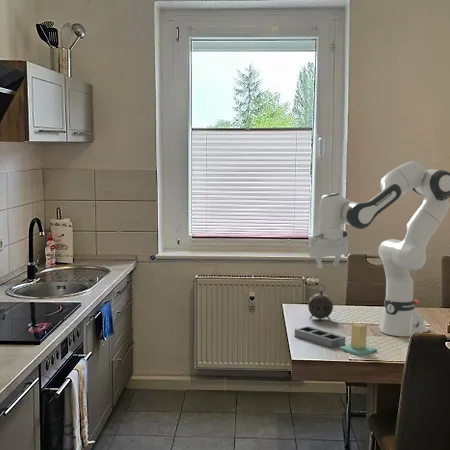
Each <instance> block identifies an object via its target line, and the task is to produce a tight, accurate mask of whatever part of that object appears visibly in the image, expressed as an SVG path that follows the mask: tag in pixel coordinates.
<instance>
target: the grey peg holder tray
mask: <svg viewBox="0 0 450 450" xmlns="http://www.w3.org/2000/svg"><path fill="white" fill-rule="evenodd" d="M295 337H296V338H298V339H301V340H304V341H308V342H310V343H315V344H317V345H321V346H324V347H326V348H330V349H334V347H335V348H338V347H342V346H346V336H343V335H340V334H335V333H332V332H329V331H327V330H326V331H325V330H322V329H319V328H315V327H314V326H309V325H307V326H303V327H299V328H294V338H295ZM341 345H342V346H341Z"/></svg>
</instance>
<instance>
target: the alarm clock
mask: <svg viewBox="0 0 450 450" xmlns="http://www.w3.org/2000/svg"><path fill="white" fill-rule="evenodd" d="M321 286H323V288H324V290H319V288H320V287H321ZM325 290H326V286H325V285H323V284H319V285H318V286H317V291H318V292H319V293H318V292H317V293H314V294H313V295H311V296H310V298H309V300H308V303H307V305H308V306H307V307H308V311H309V313H310V316H309V320H310V319H312V318H313V317H314V318H316V319H318V320H319V322H320V321H321V320H322V319H326V318H327V319H328V321H331V320H330V317H329V316H330V315H331V314H332V312H333V309H334V305H333V301H332V299H331V297H330V296H329V295H327V293H324V291H325Z"/></svg>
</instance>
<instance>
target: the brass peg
mask: <svg viewBox="0 0 450 450" xmlns="http://www.w3.org/2000/svg"><path fill="white" fill-rule="evenodd" d="M367 329H368V325H366V324H363V323H359V322H358V323H354V324H351V335H350V336H351V339H350V340H351V341H350V344H351V348H354V349H357V350H362V349H365V348H366V346H367V334H368V333H367V331H368V330H367Z"/></svg>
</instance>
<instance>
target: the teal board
mask: <svg viewBox="0 0 450 450" xmlns="http://www.w3.org/2000/svg"><path fill="white" fill-rule="evenodd" d="M342 350H343V352H345V351H346V352H345V353H348V352H349V354H351V353H352V354H351V355H354V354H355V355H356V356H358V357H362V355H363V356H366V355H369V353H370V354H373V353H376V352H378V349H377V348H375V347H371V346H368V345H366V348H365V349H362V350H357V349H354V348H351V343H350V344H345V345H342V346H339V351H342ZM375 351H376V352H375ZM372 352H373V353H372ZM365 354H366V355H365Z"/></svg>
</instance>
